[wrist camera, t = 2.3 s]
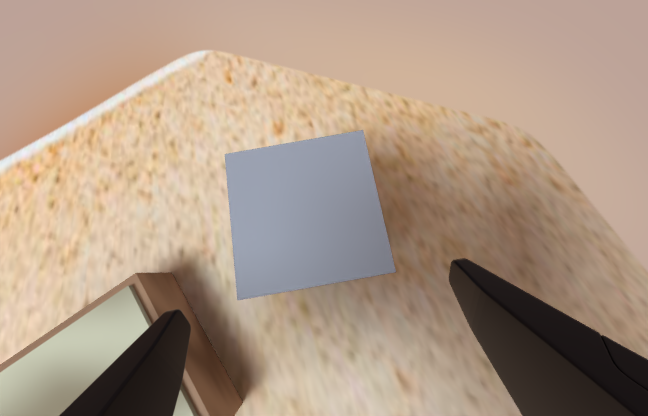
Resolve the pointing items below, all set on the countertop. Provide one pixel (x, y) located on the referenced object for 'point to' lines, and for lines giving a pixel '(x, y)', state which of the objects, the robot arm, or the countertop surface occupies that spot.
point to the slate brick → (305, 215)
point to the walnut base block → (113, 354)
